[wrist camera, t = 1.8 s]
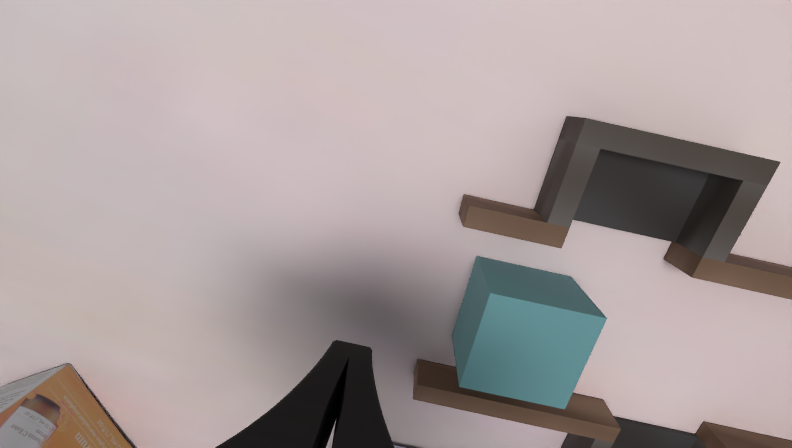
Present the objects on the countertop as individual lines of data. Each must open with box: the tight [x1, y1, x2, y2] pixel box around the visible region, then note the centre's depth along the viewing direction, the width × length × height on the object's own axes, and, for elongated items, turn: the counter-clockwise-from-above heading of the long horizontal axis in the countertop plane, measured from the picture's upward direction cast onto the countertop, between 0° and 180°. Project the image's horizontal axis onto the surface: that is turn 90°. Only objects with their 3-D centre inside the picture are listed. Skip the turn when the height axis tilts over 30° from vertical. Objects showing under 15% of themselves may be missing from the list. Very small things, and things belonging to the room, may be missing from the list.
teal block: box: [452, 256, 607, 409], centre depth 18 cm, size 5×5×4 cm
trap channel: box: [413, 116, 792, 448], centre depth 18 cm, size 20×24×4 cm
